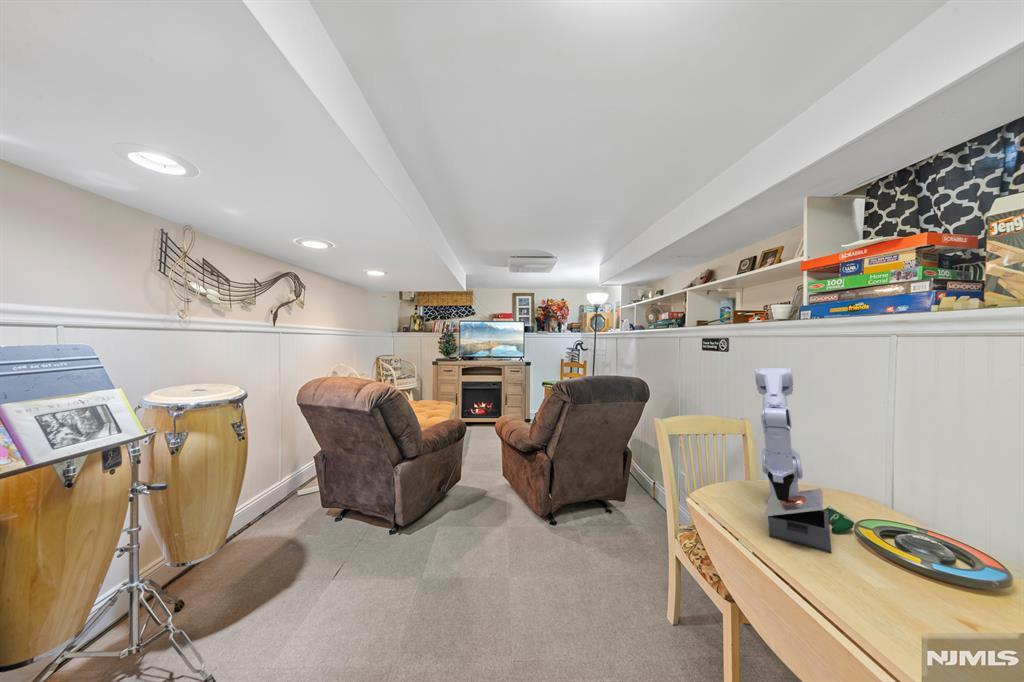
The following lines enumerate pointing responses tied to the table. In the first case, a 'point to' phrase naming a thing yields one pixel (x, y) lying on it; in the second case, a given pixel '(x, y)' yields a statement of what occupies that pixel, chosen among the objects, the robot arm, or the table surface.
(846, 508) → the table surface
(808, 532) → the storage bin
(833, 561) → the table surface
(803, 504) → the lid
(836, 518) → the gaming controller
